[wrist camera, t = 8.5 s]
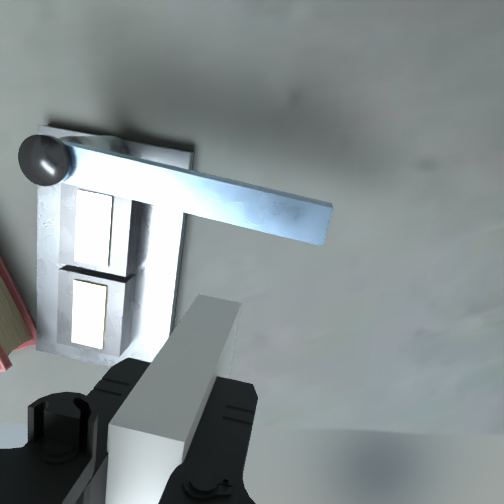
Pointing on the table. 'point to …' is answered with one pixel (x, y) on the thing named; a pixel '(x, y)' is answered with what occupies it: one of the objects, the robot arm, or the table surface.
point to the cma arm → (174, 188)
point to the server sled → (107, 263)
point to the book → (13, 319)
